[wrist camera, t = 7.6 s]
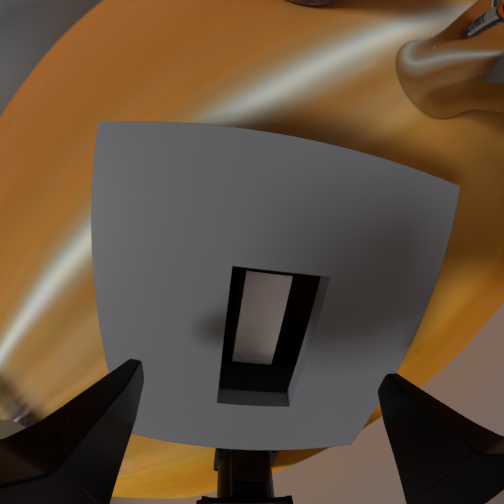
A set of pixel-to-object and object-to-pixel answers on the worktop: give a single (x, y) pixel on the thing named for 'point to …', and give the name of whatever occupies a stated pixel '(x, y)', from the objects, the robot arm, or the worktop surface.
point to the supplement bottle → (312, 2)
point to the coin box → (258, 257)
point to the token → (258, 313)
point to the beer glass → (458, 64)
